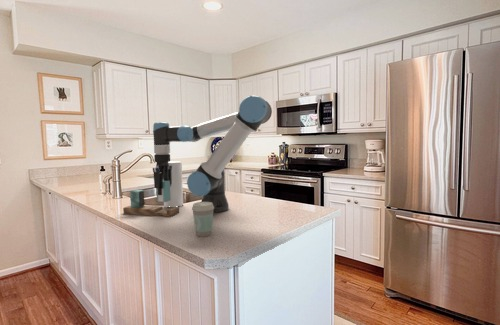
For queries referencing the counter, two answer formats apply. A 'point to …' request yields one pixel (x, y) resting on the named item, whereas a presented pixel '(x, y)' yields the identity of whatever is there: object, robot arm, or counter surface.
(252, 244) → the counter surface
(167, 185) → the block
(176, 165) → the tall pillar cylinder
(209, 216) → the coffee cup
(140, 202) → the rail
